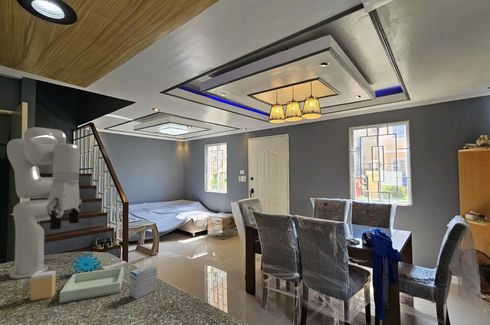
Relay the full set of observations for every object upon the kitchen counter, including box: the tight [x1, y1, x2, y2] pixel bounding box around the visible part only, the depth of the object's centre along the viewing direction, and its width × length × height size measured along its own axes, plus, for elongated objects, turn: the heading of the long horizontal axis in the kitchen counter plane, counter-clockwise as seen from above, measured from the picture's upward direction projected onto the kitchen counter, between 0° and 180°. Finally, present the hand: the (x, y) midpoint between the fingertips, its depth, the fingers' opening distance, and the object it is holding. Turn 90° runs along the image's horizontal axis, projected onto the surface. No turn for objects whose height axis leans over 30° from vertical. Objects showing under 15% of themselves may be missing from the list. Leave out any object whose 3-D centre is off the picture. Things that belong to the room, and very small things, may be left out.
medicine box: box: [129, 264, 158, 300], centre depth 86 cm, size 8×4×9 cm, turn 145°
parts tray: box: [59, 266, 125, 304], centre depth 91 cm, size 16×18×4 cm
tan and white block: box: [29, 269, 57, 301], centre depth 85 cm, size 4×6×8 cm, turn 112°
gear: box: [72, 253, 103, 273], centre depth 106 cm, size 11×6×10 cm
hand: (65, 225), depth 85 cm, fingers open, 9 cm apart
